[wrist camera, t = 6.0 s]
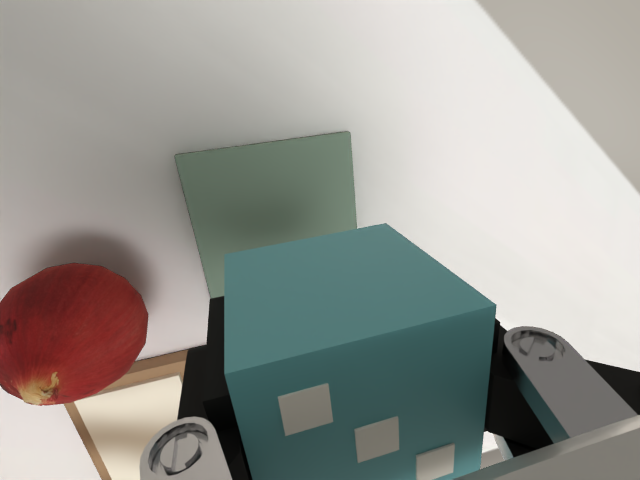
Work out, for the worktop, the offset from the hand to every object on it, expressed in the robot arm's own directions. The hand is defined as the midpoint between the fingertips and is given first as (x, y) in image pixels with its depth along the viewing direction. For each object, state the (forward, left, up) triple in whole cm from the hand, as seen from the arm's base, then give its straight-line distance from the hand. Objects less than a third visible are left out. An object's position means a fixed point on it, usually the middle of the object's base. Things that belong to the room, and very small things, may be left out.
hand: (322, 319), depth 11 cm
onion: (+2, -10, -10) cm, 15 cm away
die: (0, 0, -1) cm, 1 cm away
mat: (0, 0, -10) cm, 10 cm away
